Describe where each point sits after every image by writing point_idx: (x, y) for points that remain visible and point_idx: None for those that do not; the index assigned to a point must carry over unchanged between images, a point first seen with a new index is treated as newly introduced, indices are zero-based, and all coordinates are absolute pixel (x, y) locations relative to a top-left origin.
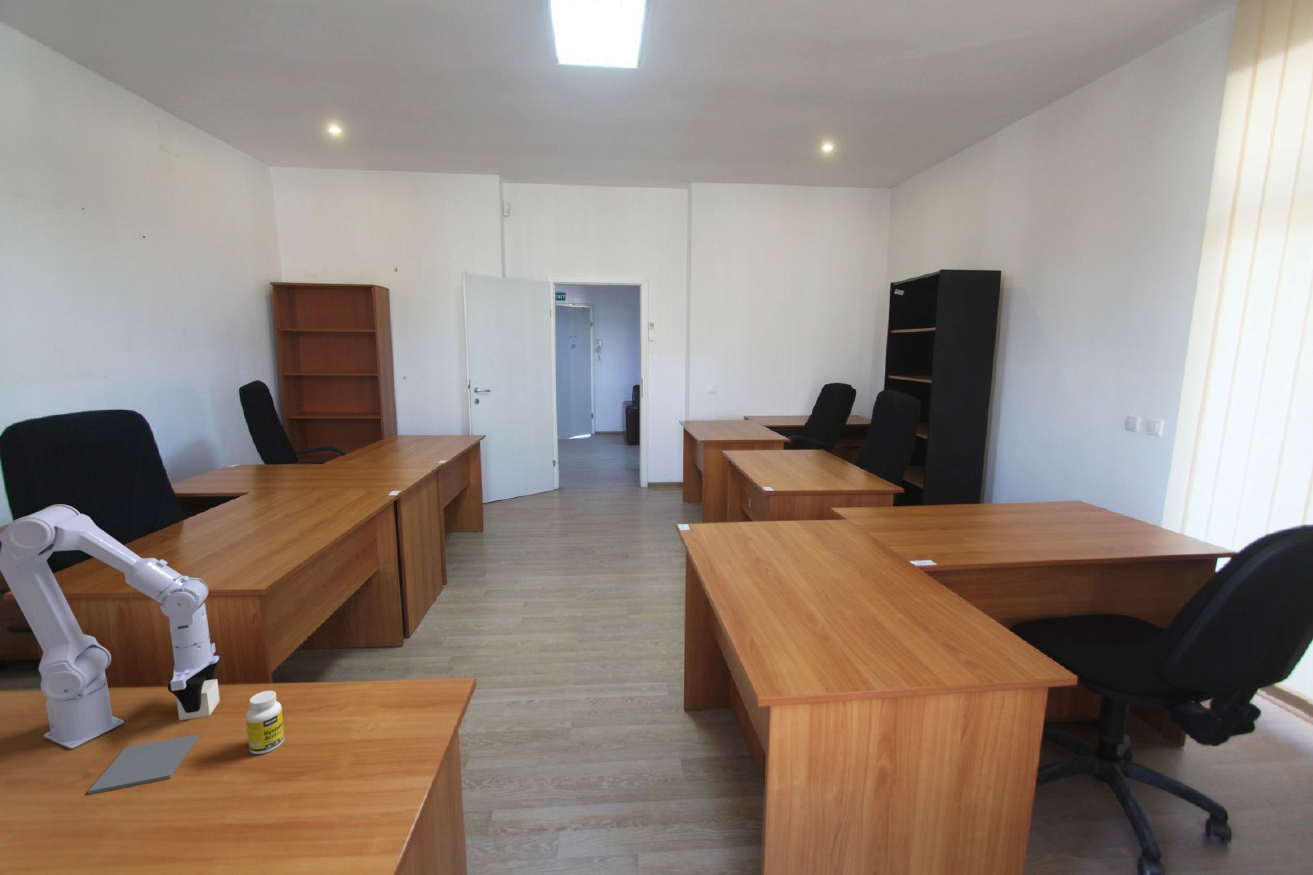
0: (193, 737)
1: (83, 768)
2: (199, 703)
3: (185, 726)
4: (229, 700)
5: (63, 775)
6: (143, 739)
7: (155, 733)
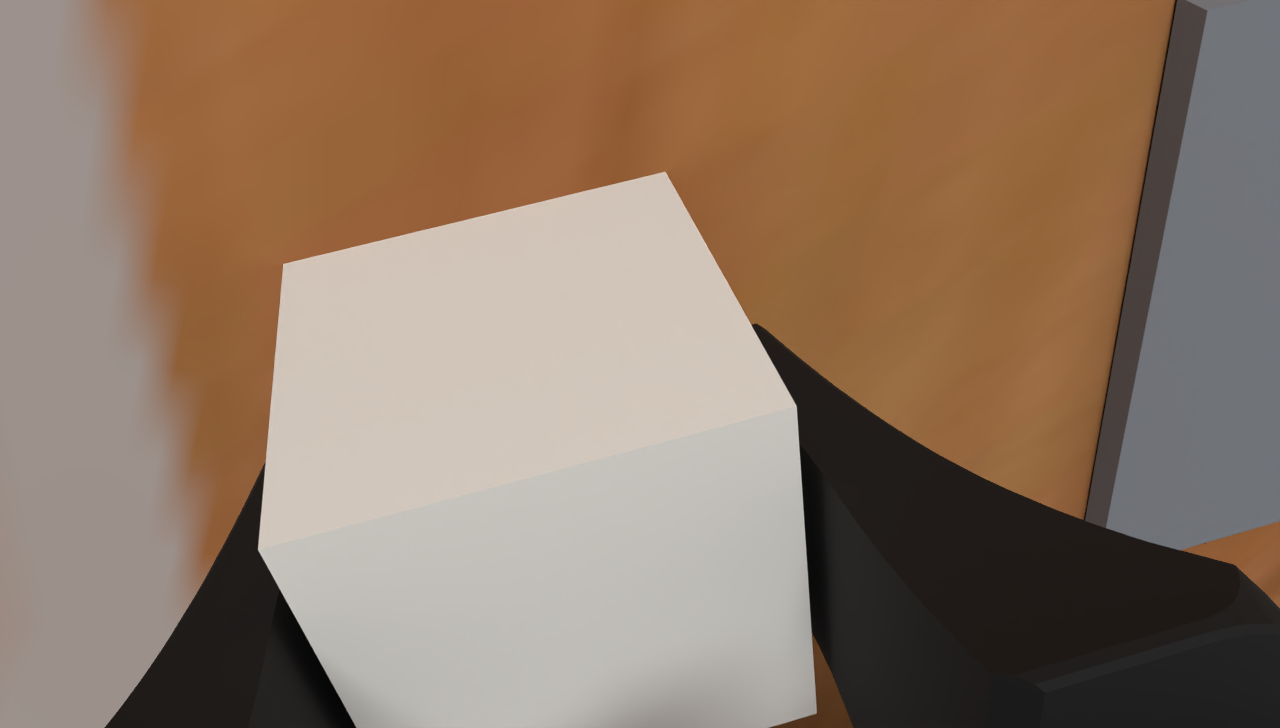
0: (1254, 30)
1: None
2: (805, 373)
3: (857, 309)
4: (272, 116)
5: None
6: None
7: None
